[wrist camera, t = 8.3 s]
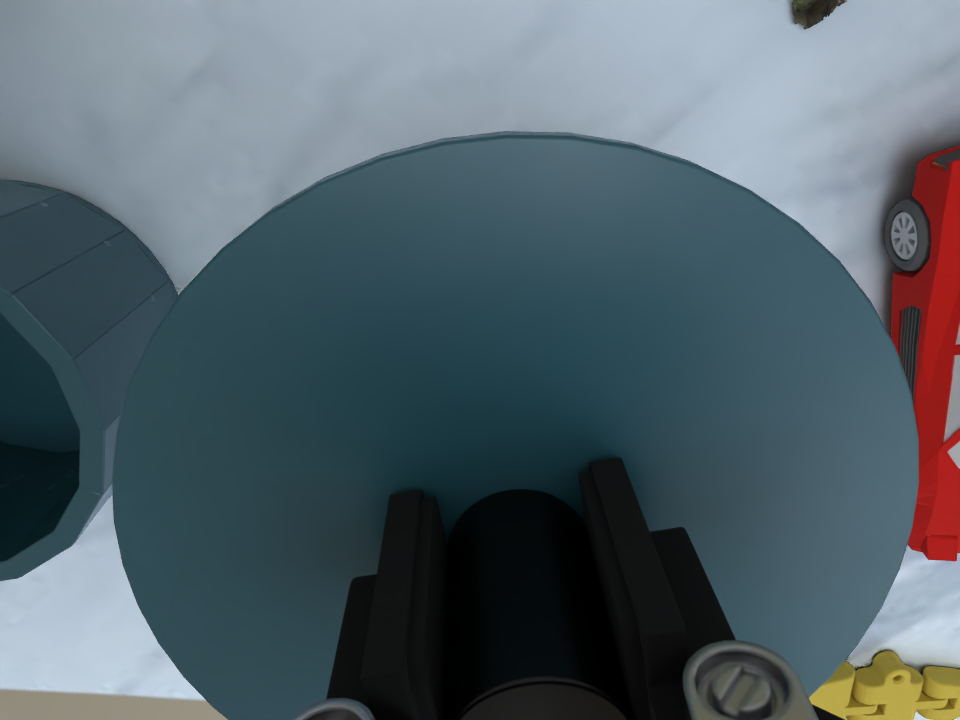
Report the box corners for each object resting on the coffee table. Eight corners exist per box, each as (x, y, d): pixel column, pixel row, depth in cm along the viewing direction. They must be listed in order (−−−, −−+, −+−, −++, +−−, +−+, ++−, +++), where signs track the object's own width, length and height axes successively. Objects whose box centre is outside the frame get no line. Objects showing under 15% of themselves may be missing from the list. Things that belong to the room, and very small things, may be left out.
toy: (1059, 660, 38) (1035, 729, 40) (1040, 641, 39) (1017, 708, 41) (768, 677, 38) (758, 745, 40) (758, 657, 39) (749, 724, 41)
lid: (262, 804, 17) (185, 1101, 12) (8, 213, 11) (-315, 335, 7) (871, 718, 16) (1041, 998, 11) (906, 48, 11) (1257, 51, 6)
